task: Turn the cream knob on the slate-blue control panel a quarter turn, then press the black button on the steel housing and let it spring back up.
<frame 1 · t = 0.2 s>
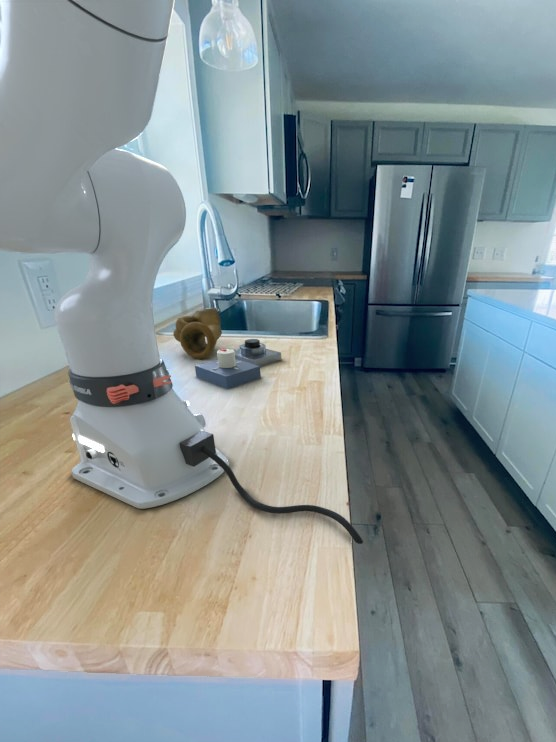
button: (252, 343, 100), point 4 cm above the countertop, slide at 0.1 cm
brown looped sculpture: (200, 349, 112), on the countertop
panel: (228, 377, 89), on the countertop
knob: (226, 357, 86), point 5 cm above the countertop, hinge at 0.0°
housing: (253, 359, 102), on the countertop
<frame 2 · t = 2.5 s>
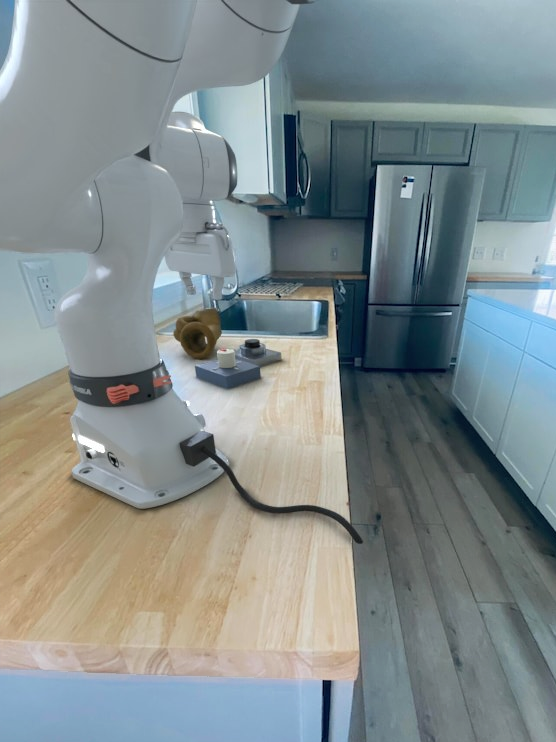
hand: (203, 296, 78), 19 cm above the countertop, tool pointing down, fingers open, 8 cm apart
nothing on the countertop moved.
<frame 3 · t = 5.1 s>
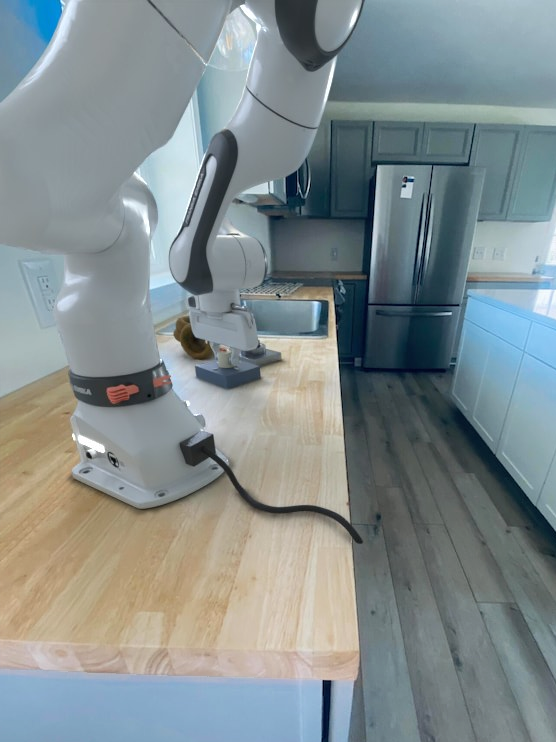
hand: (226, 362, 87), 4 cm above the countertop, tool pointing down, fingers closed on knob, 4 cm apart
knob: (226, 357, 86), point 5 cm above the countertop, hinge at 0.3°, touching gripper
everything else where it was.
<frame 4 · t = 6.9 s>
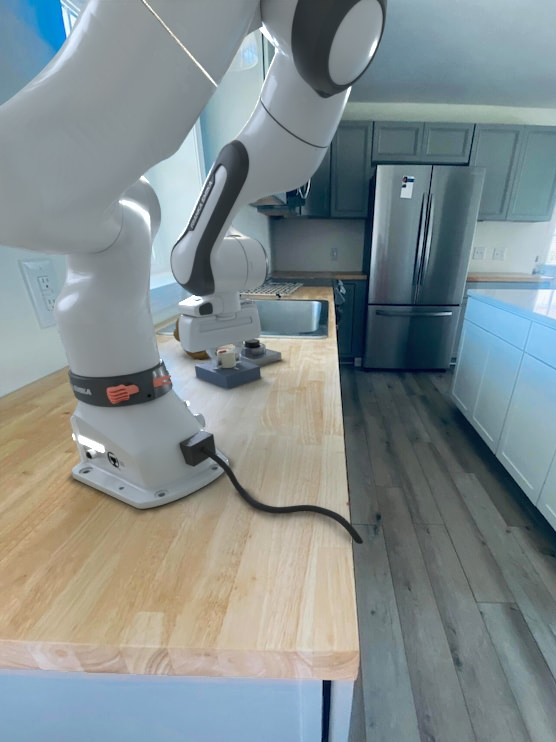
hand: (226, 363, 87), 4 cm above the countertop, tool pointing down, fingers closed on knob, 4 cm apart
knob: (226, 357, 86), point 5 cm above the countertop, hinge at 91.1°, touching gripper
everything else where it was.
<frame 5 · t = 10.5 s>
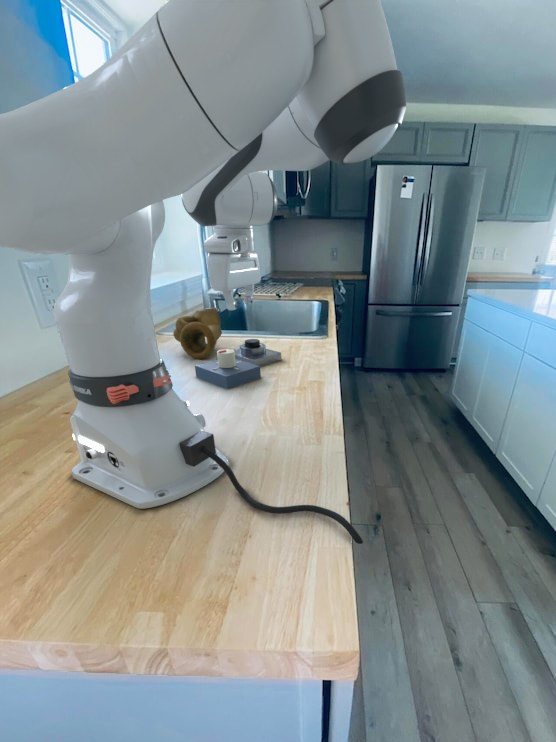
hand: (240, 306, 90), 15 cm above the countertop, tool pointing down, fingers open, 8 cm apart
knob: (226, 357, 86), point 5 cm above the countertop, hinge at 91.1°
everything else where it was.
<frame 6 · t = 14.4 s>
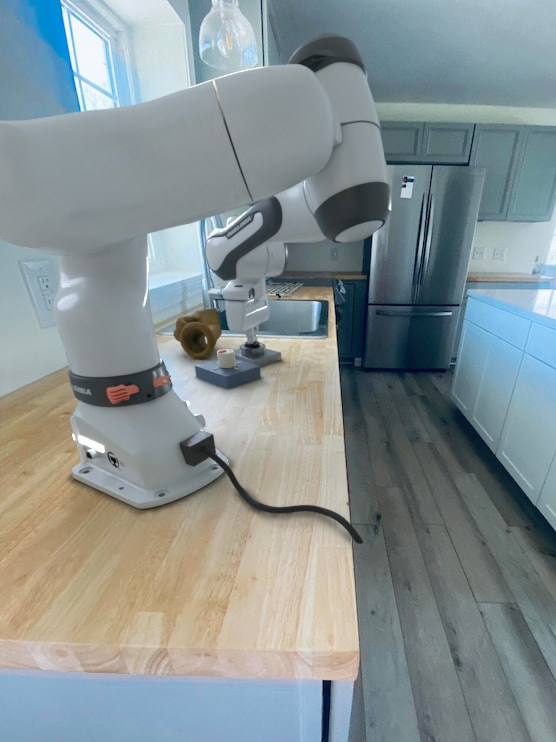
hand: (252, 342, 100), 5 cm above the countertop, tool pointing down, fingers closed, pressing on button
button: (252, 345, 100), point 4 cm above the countertop, slide at -0.4 cm, touching gripper
everything else where it was.
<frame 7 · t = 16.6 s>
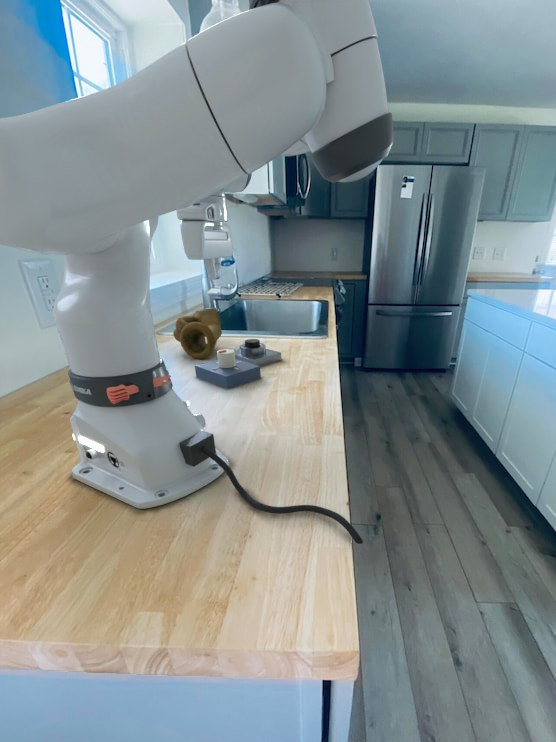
hand: (214, 279, 88), 21 cm above the countertop, tool pointing down, fingers closed
button: (252, 343, 100), point 4 cm above the countertop, slide at 0.1 cm
everything else where it was.
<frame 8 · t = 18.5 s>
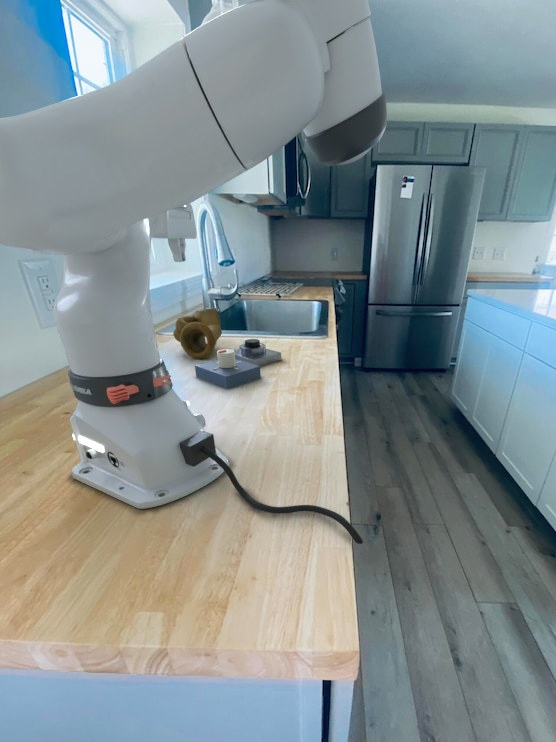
hand: (180, 261, 83), 25 cm above the countertop, tool pointing down, fingers closed
nothing on the countertop moved.
at the end: knob at +91° (first picture: +0°); button pushed in 1.1 cm at the most during the clip, back to where it started at the end; button slide at 0.1 cm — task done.
